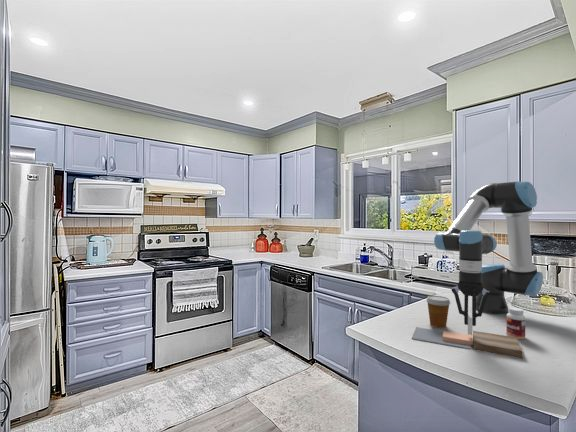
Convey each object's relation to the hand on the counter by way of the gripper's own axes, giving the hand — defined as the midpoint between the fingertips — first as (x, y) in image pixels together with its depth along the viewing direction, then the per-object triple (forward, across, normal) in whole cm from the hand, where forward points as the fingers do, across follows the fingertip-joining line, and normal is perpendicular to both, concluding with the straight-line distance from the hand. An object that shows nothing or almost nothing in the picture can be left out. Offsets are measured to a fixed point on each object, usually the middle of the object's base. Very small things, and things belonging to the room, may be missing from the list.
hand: (469, 333), depth 121 cm
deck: (+3, +8, 0) cm, 9 cm away
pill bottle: (+4, +16, +16) cm, 23 cm away
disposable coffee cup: (+4, -12, +15) cm, 19 cm away
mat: (+3, -10, 0) cm, 10 cm away
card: (+3, -4, 0) cm, 5 cm away
